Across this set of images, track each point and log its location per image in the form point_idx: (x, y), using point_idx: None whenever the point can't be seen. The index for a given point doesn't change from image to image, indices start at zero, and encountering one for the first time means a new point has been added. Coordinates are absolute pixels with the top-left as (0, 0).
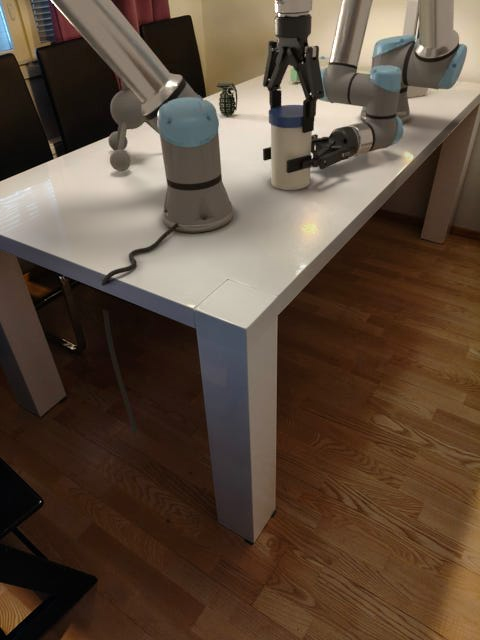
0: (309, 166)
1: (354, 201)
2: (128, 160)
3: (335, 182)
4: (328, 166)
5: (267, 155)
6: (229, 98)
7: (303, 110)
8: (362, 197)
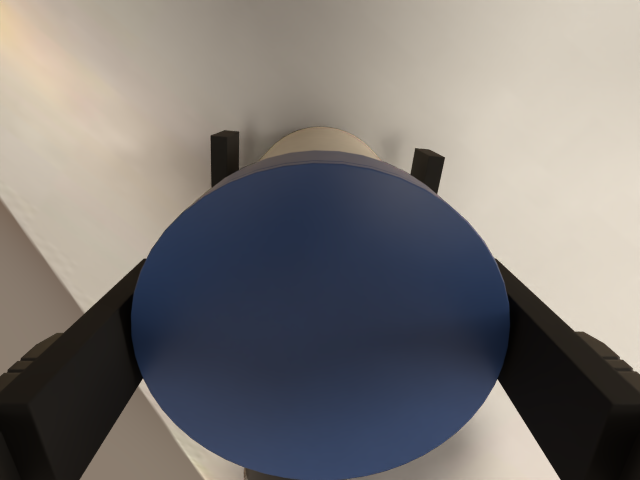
0: None
1: (77, 246)
2: None
3: None
4: None
5: (417, 166)
6: None
7: (75, 341)
8: (90, 281)
